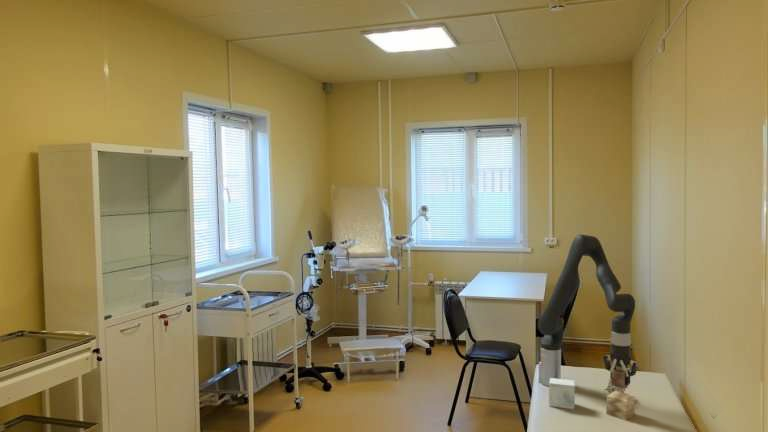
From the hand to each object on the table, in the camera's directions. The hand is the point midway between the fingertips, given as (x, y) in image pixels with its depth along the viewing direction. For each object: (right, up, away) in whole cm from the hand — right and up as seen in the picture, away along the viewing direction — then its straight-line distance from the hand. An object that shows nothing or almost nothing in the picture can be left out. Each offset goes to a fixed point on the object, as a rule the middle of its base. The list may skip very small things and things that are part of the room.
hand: (620, 382), depth 228 cm
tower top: (0, -9, 0) cm, 9 cm away
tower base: (0, -13, +1) cm, 13 cm away
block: (0, -1, 0) cm, 1 cm away
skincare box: (-21, -13, +10) cm, 27 cm away
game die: (+6, -12, +18) cm, 23 cm away
